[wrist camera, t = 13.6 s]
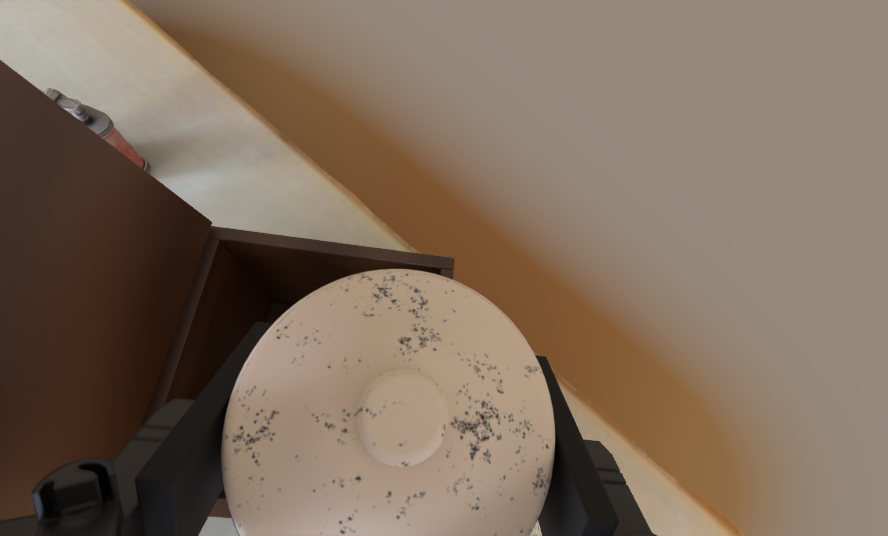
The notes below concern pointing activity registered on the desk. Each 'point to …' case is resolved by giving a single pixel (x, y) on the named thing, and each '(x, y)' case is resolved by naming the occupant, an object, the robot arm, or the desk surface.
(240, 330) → the chest
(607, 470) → the robot arm
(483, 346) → the teacup with lid
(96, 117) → the lighter
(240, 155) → the desk surface
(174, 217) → the chest lid
